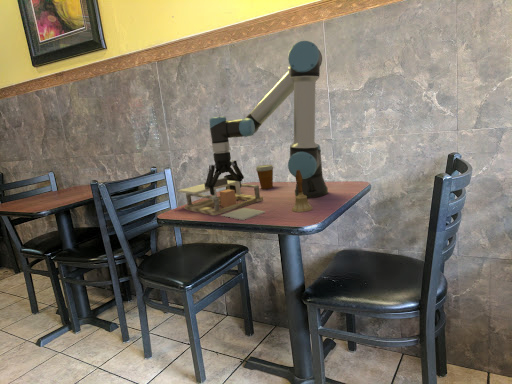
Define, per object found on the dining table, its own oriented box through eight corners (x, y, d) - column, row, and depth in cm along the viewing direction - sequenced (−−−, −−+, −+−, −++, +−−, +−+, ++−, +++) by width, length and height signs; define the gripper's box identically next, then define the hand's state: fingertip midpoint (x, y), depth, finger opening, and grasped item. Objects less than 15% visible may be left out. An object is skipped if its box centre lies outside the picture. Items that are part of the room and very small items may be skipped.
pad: (265, 212, 150) (265, 211, 150) (242, 220, 143) (242, 219, 143) (243, 208, 161) (243, 207, 161) (221, 216, 153) (221, 214, 153)
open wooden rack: (263, 199, 173) (261, 184, 172) (214, 215, 156) (211, 198, 154) (232, 195, 191) (230, 182, 190) (185, 209, 174) (182, 194, 172)
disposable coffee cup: (254, 189, 200) (252, 167, 198) (264, 185, 208) (262, 164, 206) (269, 189, 195) (266, 167, 192) (278, 185, 202) (276, 164, 200)
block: (236, 204, 170) (234, 190, 169) (228, 207, 167) (225, 192, 166) (230, 203, 174) (228, 189, 172) (221, 206, 171) (219, 191, 169)
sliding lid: (238, 183, 182) (237, 175, 181) (195, 194, 166) (193, 185, 166) (220, 181, 193) (219, 174, 193) (178, 192, 178) (177, 184, 177)
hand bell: (311, 211, 143) (307, 171, 140) (290, 212, 145) (285, 172, 142) (314, 206, 151) (310, 167, 148) (293, 207, 153) (289, 169, 150)
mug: (243, 189, 206) (241, 172, 204) (240, 193, 194) (237, 175, 193) (229, 190, 207) (226, 173, 205) (224, 195, 196) (222, 177, 194)
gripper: (238, 148, 176) (243, 191, 180) (193, 156, 160) (199, 203, 165) (248, 148, 171) (253, 193, 175) (202, 156, 155) (209, 205, 159)
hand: (227, 198), depth 170 cm, fingers open, 13 cm apart
